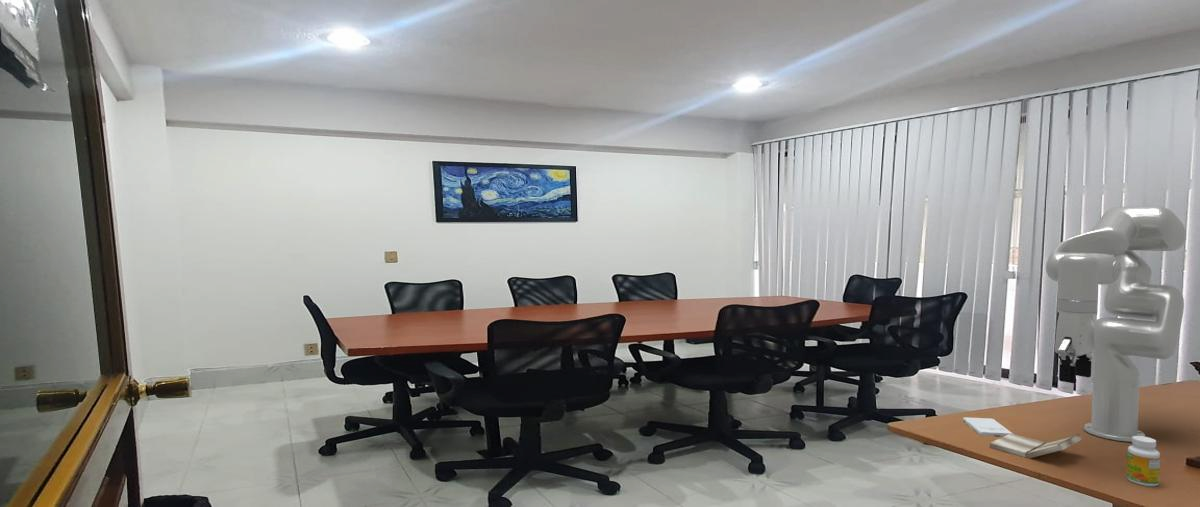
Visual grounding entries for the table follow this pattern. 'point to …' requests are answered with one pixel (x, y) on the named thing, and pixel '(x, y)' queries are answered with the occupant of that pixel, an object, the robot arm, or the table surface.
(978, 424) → the external hard drive
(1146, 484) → the supplement bottle
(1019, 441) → the laid board
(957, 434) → the table surface
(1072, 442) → the plank
